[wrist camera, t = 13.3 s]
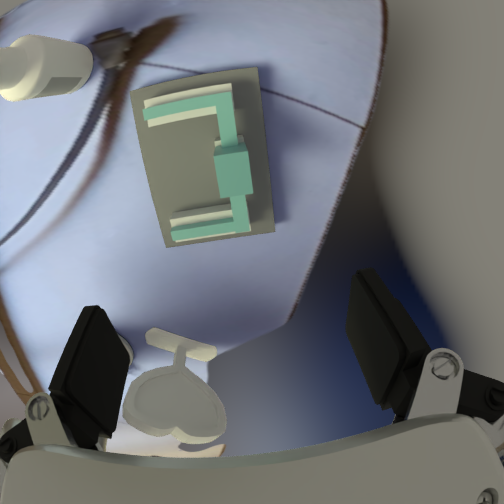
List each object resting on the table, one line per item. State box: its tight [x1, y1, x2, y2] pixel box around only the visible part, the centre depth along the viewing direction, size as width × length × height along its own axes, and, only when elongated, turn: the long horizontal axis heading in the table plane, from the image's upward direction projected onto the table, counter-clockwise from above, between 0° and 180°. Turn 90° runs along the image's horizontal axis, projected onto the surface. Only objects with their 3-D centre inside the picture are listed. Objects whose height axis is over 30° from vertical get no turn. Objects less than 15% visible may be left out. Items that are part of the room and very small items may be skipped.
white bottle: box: [0, 34, 93, 102], centre depth 16 cm, size 7×7×18 cm
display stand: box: [130, 67, 275, 248], centre depth 31 cm, size 20×14×4 cm
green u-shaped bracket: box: [143, 92, 253, 241], centre depth 27 cm, size 15×10×5 cm, turn 7°
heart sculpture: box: [123, 327, 227, 444], centre depth 41 cm, size 16×5×18 cm, turn 62°
